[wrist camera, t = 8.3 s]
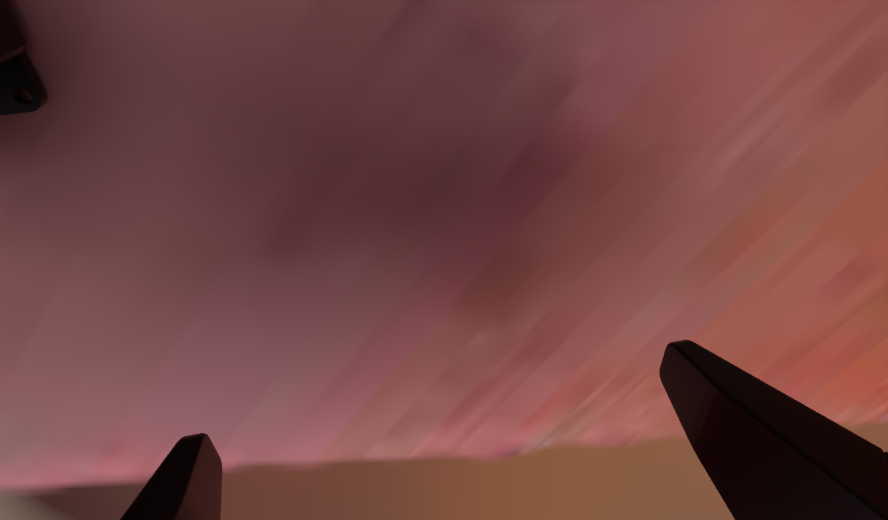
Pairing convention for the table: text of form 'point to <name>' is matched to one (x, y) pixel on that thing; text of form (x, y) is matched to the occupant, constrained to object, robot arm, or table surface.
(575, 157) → the table surface
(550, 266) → the table surface
